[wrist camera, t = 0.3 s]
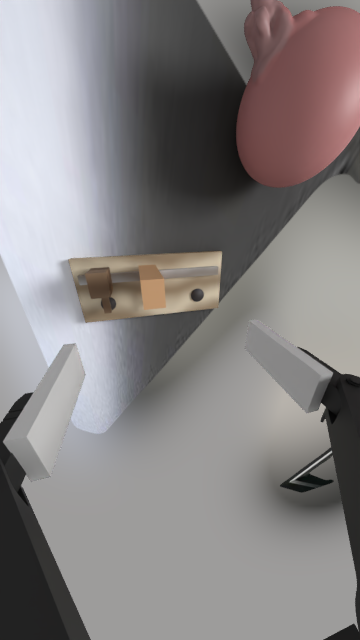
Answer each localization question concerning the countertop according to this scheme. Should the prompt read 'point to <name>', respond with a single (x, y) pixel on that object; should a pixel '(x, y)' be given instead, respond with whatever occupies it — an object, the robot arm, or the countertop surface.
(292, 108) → the balloon
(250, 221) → the countertop surface
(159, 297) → the orange wooden block
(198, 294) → the wooden slotted board
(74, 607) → the robot arm
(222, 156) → the countertop surface
